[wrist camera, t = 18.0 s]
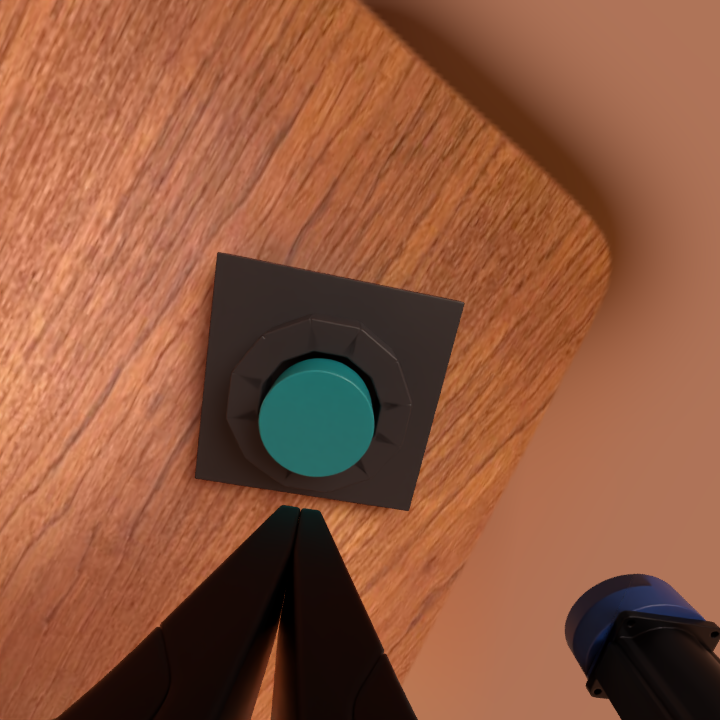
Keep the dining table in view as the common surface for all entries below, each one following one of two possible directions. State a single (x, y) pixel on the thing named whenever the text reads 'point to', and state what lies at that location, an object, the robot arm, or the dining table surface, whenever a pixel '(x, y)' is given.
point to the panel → (329, 341)
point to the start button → (317, 418)
